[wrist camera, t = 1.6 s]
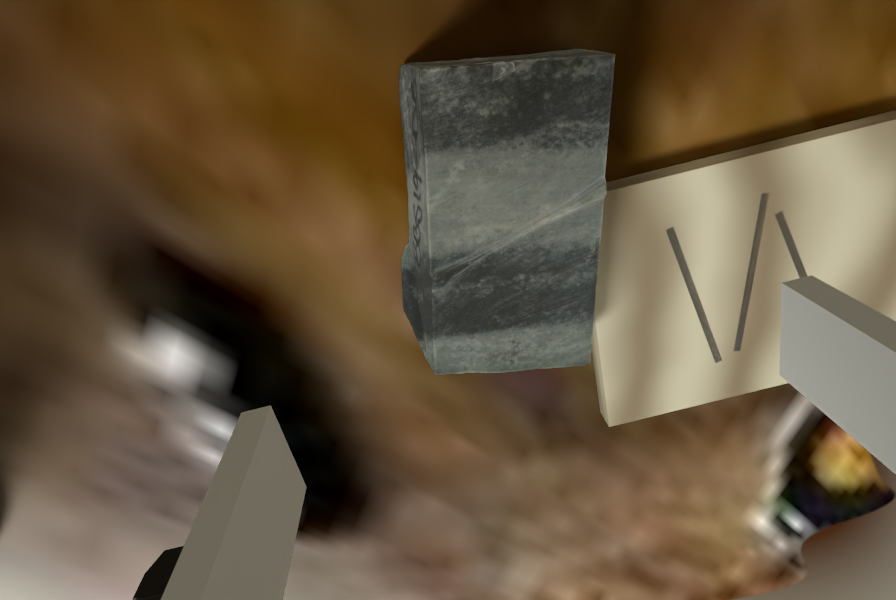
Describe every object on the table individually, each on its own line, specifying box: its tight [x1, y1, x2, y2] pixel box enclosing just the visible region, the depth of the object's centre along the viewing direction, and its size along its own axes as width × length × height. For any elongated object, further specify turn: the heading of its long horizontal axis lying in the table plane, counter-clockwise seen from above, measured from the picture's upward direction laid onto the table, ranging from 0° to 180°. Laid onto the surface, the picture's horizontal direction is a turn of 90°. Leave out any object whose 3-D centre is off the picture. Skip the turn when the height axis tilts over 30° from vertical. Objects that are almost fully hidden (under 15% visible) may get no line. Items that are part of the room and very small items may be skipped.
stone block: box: [399, 49, 615, 375], centre depth 27 cm, size 9×14×5 cm, turn 2°
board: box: [592, 110, 896, 427], centre depth 31 cm, size 17×14×2 cm
